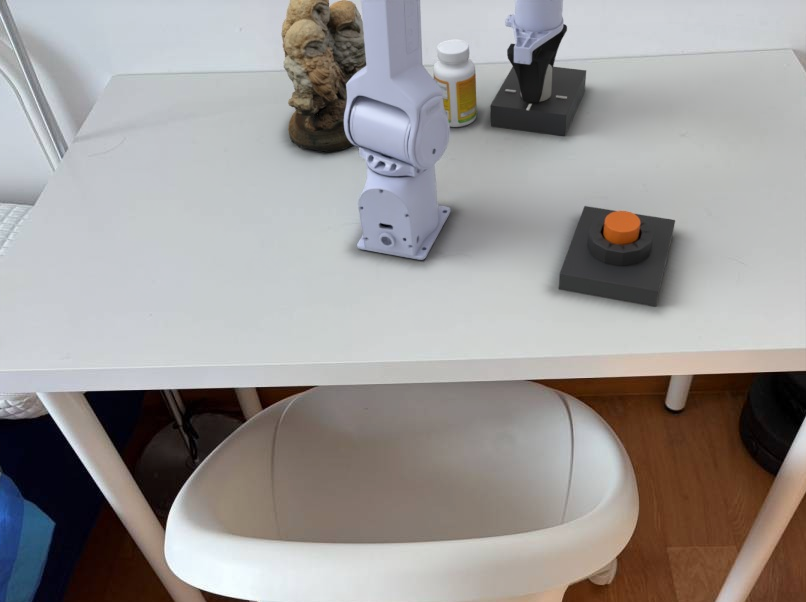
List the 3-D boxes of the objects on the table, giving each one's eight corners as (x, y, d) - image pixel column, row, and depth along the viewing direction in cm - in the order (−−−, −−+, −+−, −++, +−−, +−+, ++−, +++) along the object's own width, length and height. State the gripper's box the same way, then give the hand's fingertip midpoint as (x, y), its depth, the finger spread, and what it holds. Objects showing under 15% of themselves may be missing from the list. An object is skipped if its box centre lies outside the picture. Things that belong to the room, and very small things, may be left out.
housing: (655, 307, 80) (661, 277, 77) (558, 289, 82) (560, 259, 79) (672, 236, 87) (678, 205, 84) (583, 221, 89) (585, 191, 86)
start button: (635, 248, 80) (637, 234, 79) (600, 242, 81) (601, 228, 80) (641, 227, 82) (643, 213, 81) (606, 221, 83) (608, 208, 82)
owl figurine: (351, 165, 99) (328, 28, 86) (268, 151, 102) (234, 17, 89) (404, 95, 110) (391, -35, 97) (328, 84, 113) (305, -43, 100)
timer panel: (564, 136, 101) (566, 114, 99) (490, 126, 104) (489, 104, 101) (584, 91, 109) (586, 69, 106) (514, 82, 111) (515, 60, 109)
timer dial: (554, 88, 104) (555, 60, 101) (546, 103, 101) (548, 75, 98) (524, 85, 104) (525, 57, 102) (516, 99, 102) (517, 71, 99)
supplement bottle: (478, 107, 107) (476, 36, 100) (475, 128, 103) (472, 56, 96) (439, 106, 107) (434, 36, 100) (434, 127, 104) (428, 56, 97)
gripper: (523, -44, 98) (521, 62, 108) (488, 5, 89) (490, 116, 99) (579, -39, 96) (572, 68, 106) (549, 11, 87) (544, 123, 97)
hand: (536, 92), depth 103 cm, fingers closed on timer dial, 4 cm apart
